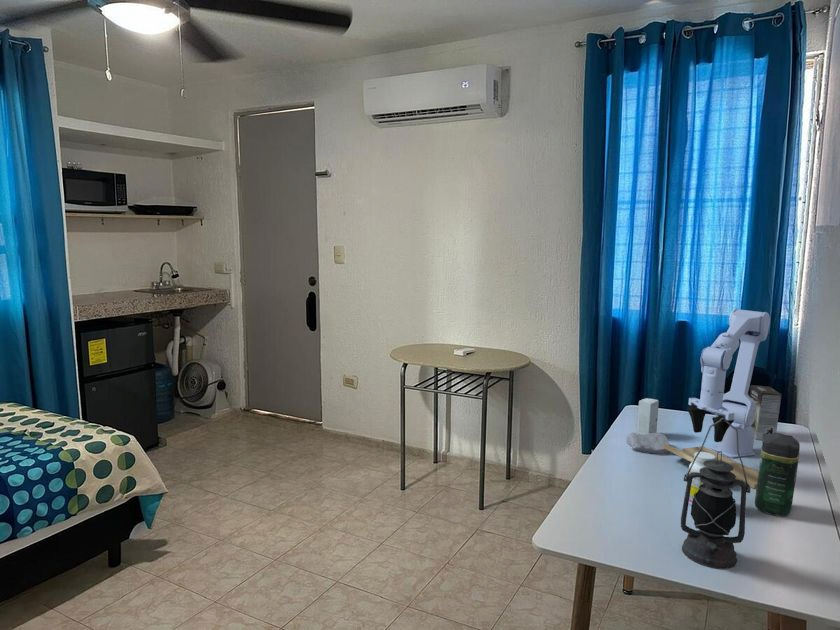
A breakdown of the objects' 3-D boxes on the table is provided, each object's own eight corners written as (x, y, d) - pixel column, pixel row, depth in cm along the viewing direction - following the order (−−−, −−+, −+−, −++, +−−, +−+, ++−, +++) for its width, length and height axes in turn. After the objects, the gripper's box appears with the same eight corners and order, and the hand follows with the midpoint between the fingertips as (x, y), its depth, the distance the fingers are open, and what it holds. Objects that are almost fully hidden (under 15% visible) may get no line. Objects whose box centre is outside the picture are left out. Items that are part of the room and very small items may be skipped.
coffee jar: (790, 520, 142) (799, 446, 139) (752, 511, 146) (761, 438, 143) (793, 505, 150) (802, 434, 147) (757, 496, 154) (765, 427, 151)
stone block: (672, 461, 181) (663, 443, 190) (674, 447, 179) (665, 430, 189) (632, 460, 182) (625, 442, 192) (633, 446, 181) (626, 429, 190)
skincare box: (648, 440, 193) (651, 403, 191) (635, 436, 196) (638, 400, 194) (657, 435, 197) (660, 400, 195) (643, 432, 200) (646, 397, 198)
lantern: (676, 559, 124) (690, 420, 119) (677, 535, 133) (690, 406, 129) (744, 575, 119) (761, 430, 114) (739, 549, 129) (755, 415, 124)
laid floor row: (702, 449, 186) (703, 446, 185) (776, 485, 161) (777, 480, 161) (682, 452, 183) (682, 448, 183) (754, 488, 159) (754, 484, 159)
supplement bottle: (713, 500, 151) (718, 452, 149) (716, 512, 145) (722, 462, 143) (684, 496, 153) (689, 448, 151) (686, 507, 147) (691, 457, 145)
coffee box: (744, 430, 205) (749, 384, 202) (764, 431, 204) (769, 385, 201) (755, 439, 196) (760, 392, 193) (776, 441, 195) (782, 393, 192)
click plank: (686, 456, 180) (688, 452, 180) (741, 484, 161) (743, 480, 161) (662, 447, 176) (664, 443, 176) (716, 475, 158) (718, 470, 158)
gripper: (681, 384, 172) (677, 429, 174) (721, 398, 159) (716, 447, 161) (701, 382, 174) (696, 427, 176) (742, 396, 161) (736, 444, 163)
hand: (707, 436), depth 169 cm, fingers open, 7 cm apart
